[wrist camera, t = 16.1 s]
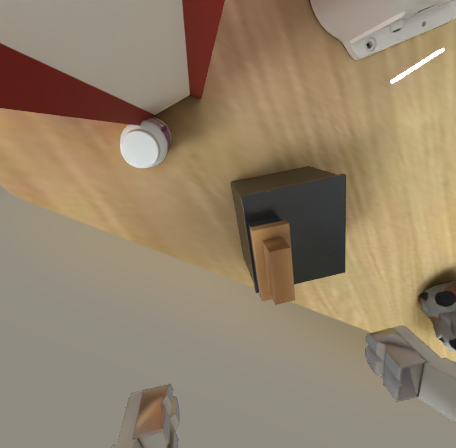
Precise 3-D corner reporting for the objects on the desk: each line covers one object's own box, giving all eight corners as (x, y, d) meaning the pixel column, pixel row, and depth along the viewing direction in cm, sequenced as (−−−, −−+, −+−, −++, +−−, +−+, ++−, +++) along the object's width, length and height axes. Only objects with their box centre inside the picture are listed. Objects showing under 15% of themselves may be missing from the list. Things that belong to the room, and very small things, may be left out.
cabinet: (312, 163, 39) (350, 173, 30) (316, 242, 45) (348, 271, 35) (229, 181, 38) (240, 196, 29) (242, 259, 44) (256, 293, 34)
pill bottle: (166, 113, 33) (159, 120, 25) (175, 152, 36) (170, 170, 27) (127, 118, 33) (105, 127, 24) (138, 157, 35) (122, 177, 27)
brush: (280, 214, 31) (299, 232, 25) (286, 280, 34) (304, 308, 29) (246, 221, 30) (258, 241, 25) (256, 286, 34) (268, 317, 28)
